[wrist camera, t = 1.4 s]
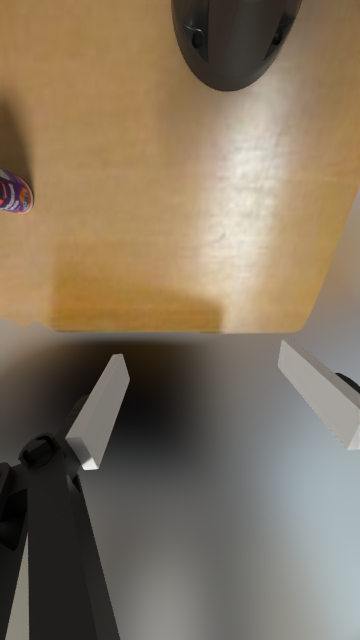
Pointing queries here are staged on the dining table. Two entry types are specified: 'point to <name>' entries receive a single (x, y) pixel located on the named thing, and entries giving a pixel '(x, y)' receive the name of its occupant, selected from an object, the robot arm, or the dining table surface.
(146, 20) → the dining table surface
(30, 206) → the pill bottle
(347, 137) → the dining table surface
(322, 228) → the dining table surface
